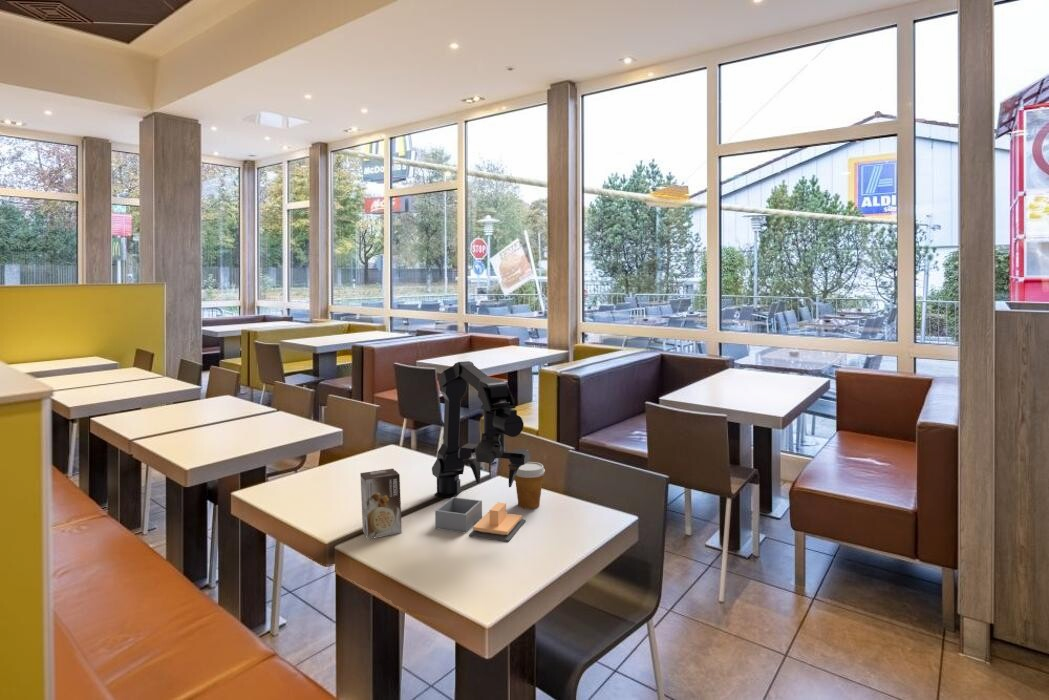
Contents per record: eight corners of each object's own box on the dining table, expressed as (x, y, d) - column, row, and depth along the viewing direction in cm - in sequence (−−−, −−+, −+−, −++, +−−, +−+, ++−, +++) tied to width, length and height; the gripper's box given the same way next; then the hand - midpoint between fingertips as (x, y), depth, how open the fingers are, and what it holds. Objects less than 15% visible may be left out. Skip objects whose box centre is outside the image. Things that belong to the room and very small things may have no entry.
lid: (473, 532, 156) (473, 512, 155) (489, 516, 167) (489, 497, 166) (507, 537, 153) (507, 516, 152) (521, 520, 164) (521, 501, 163)
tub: (435, 528, 160) (435, 510, 159) (452, 513, 170) (452, 496, 170) (466, 533, 157) (466, 514, 156) (482, 517, 167) (481, 500, 167)
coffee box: (395, 524, 162) (394, 467, 161) (402, 533, 157) (401, 474, 155) (361, 530, 158) (360, 472, 157) (367, 540, 153) (365, 479, 151)
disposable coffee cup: (545, 500, 181) (546, 461, 180) (543, 511, 172) (543, 471, 171) (514, 498, 182) (514, 460, 181) (511, 510, 173) (511, 470, 172)
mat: (469, 536, 155) (469, 534, 155) (488, 516, 168) (488, 514, 168) (508, 541, 152) (508, 539, 152) (525, 521, 165) (525, 519, 165)
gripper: (449, 432, 154) (449, 490, 155) (517, 439, 148) (517, 499, 150) (466, 422, 164) (466, 477, 166) (531, 428, 158) (530, 485, 160)
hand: (494, 484), depth 160 cm, fingers open, 9 cm apart
